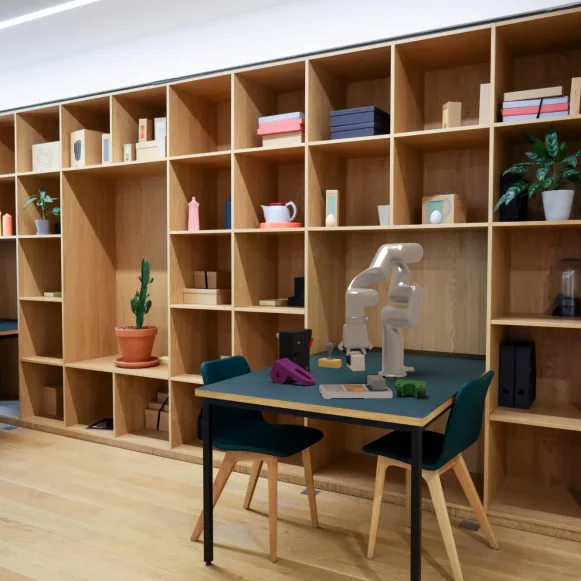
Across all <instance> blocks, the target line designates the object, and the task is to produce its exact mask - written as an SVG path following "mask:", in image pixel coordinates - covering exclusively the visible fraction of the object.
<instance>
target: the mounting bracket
mask: <svg viewBox="0 0 581 581" xmlns="http://www.w3.org/2000/svg"><path fill="white" fill-rule="evenodd" d="M269 376H270V379H271V381H272V382H273V383H274V382H275V383H274V384H279V383H281V384H283V383H287V382H289V381H293V380H295V381H296V382H298V383H300V384H301V385H303V386H308V385H310V386H313V385H314V384H315V381H316V378H315V376H314V375H313V374H311V373H310V372H307V371H306V370H304V369H303V368H301V367H299V366H298V365H296V364H295V363H293V362H292V361H290V360H289V359H287V358H283V359H280V360H279V359H276V360H274V362H273V365H272V366H271V368H270V371H269ZM287 380H288V381H287ZM308 387H309V386H308Z"/></svg>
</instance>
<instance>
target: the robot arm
mask: <svg viewBox="0 0 581 581" xmlns="http://www.w3.org/2000/svg"><path fill="white" fill-rule="evenodd" d="M423 256H424V248H423V247H422V245H421V244H420V243H417V242H412V243H411V242H409V243H408V242H405V243H403V242H399V243H398V242H397V243H386V244H385V243H384V244H381V245H380V246H379V248H378V249H377V252H376V253H375V255H374V258H373V259H372V261H371V263H370V265H369V267H367V269H364V270H363V271H361V272H360V273H359V274H357V275H356V276H355V277H354V278H353V279H352V280H351V281H350V284H349V285H348V287H347V289H346V292H345V323H344V324H343V329H342V340H341V342H340V343H339V344H338V346H337V349H338V350H340V351H341V352H343V354H344V355H345V363H346V364H347V363H348V365H350V354H349V353H350V352H351V349H360V350H361V353H362V354H363V355H364V356H365V363H366V355H367V354H368V353H369V351H370V350H372V348H374V344H373V343H372V342H371V341H370V339H369V336H368V335H369V334H368V333H369V332H368V327H367V323H365V322H368V320H369V319H368V318H369V317H366V316H365V307H367V308H371V307H375V306H377V305H378V303H379V302H380V301H379V300H380V295H379V292H377V291H378V290H376V289H373V288H366V287H368V286H370V285H372V284H376V283H379V282H381V281H384V280H385V279H386V278H387V277H388V274H389V272H390V270H391V278H390V283H389V288H388V294H387V295H388V296H387V297H388V300H389V301H390V303H393V305H389V304H388V305H385V306H384V307H383V308H382V309H381V311H380V313H379V314H380V321H381V330H382V332H381V334H382V340H381V342H382V343H381V348H382V349H381V351H382V352H381V370H380V371H378V375H380V376H382V377H383V376H385V378H393V377H397V378H405V377H406V376H407V372H414V371H415V367H413V366H406V365H404V354H405V353H404V346H405V342H404V341H405V340H404V339H405V338H404V336H405V335H404V333H403V331H402V329H401V328H405V329H406V328H407V329H413V328H416V327H417V326H418V324H419V322H420V318H421V314H422V313H421V312H422V307H423V303H424V295H425V294H424V289H423V287H422V285H421V284H419V283H416V282H411V277H412V276H411V275H412V274H411V272H412V271H411V270H410V268H409V266H408V264H411V263H412V264H413V263H418V262H420V261H421V260H422V259H423ZM394 304H395V305H394ZM396 304H400V305H396ZM401 304H402V305H401ZM343 347H344V348H343Z"/></svg>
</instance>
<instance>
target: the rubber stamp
mask: <svg viewBox="0 0 581 581" xmlns="http://www.w3.org/2000/svg"><path fill="white" fill-rule="evenodd" d="M325 346H326V347H325V349H326V351H327V356H328V357H322V358H319V359H318V360H317V362H318V364H317V365H318V367H319V368H330V369H339V368H341V367H342V359H340V358H339V359H338V358H333V357H332V353H333V350H334V344H333V343H332V342H328V343H327V344H326V345H325Z"/></svg>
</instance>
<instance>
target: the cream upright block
mask: <svg viewBox="0 0 581 581" xmlns="http://www.w3.org/2000/svg"><path fill="white" fill-rule="evenodd" d="M349 354H350V365H348V363H346V365H347V367H348V368H349V369H350V370H351V371H352V372H361V371H366V362H365V358H366V355H365V356H364V355H363V354H362V352H360V351H358V350H357V351H350V353H349Z"/></svg>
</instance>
